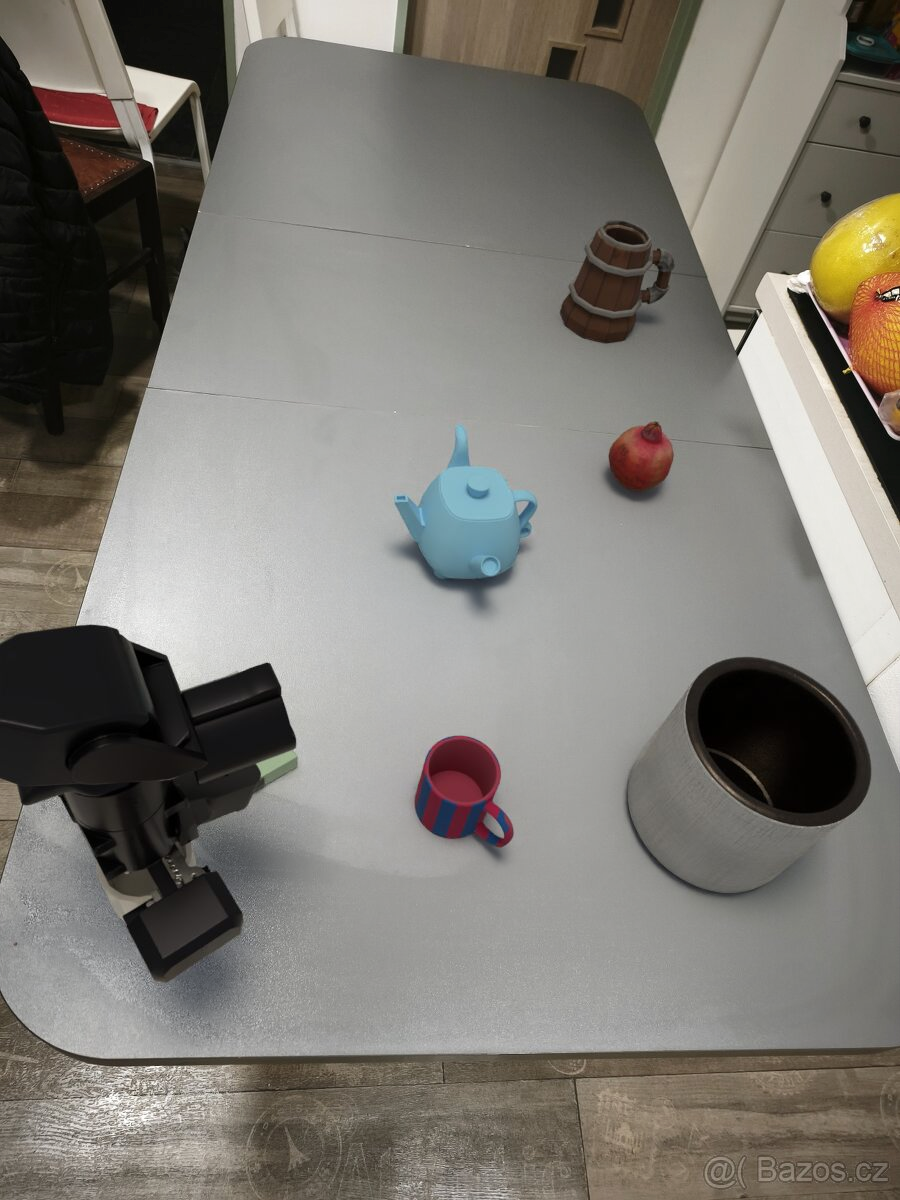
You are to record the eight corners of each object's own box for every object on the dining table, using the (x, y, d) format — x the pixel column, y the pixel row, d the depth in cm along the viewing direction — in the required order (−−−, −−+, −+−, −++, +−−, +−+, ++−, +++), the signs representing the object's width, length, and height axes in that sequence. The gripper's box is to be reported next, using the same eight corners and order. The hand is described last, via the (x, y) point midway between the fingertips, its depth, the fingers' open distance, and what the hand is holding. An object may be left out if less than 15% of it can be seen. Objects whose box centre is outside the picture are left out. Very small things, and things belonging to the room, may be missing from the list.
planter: (814, 883, 76) (913, 813, 64) (658, 911, 72) (733, 842, 60) (742, 732, 85) (816, 646, 73) (601, 749, 81) (655, 661, 69)
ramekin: (133, 947, 60) (120, 920, 55) (96, 875, 62) (81, 845, 58) (213, 896, 63) (207, 867, 58) (175, 830, 65) (166, 798, 61)
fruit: (671, 495, 107) (701, 436, 100) (625, 511, 104) (652, 452, 96) (634, 456, 111) (660, 396, 104) (588, 471, 108) (611, 410, 100)
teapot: (371, 548, 93) (380, 475, 85) (445, 491, 101) (460, 418, 92) (477, 623, 89) (497, 554, 80) (545, 557, 97) (570, 488, 88)
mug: (570, 341, 127) (598, 249, 115) (554, 298, 134) (579, 207, 122) (663, 347, 130) (700, 258, 118) (643, 304, 137) (676, 217, 126)
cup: (459, 759, 78) (471, 723, 73) (522, 845, 74) (540, 813, 68) (400, 791, 75) (409, 756, 70) (462, 884, 71) (476, 854, 65)
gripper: (316, 837, 49) (310, 920, 61) (173, 626, 57) (193, 736, 69) (139, 949, 44) (171, 1016, 56) (8, 698, 52) (61, 804, 64)
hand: (152, 879), depth 61 cm, fingers closed on ramekin, 6 cm apart
